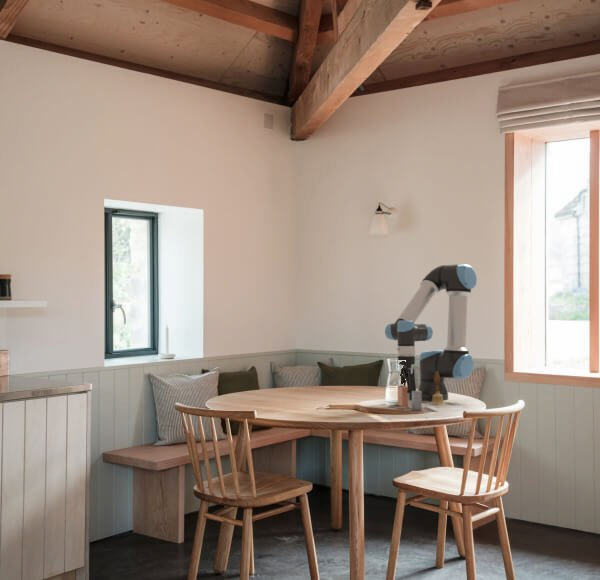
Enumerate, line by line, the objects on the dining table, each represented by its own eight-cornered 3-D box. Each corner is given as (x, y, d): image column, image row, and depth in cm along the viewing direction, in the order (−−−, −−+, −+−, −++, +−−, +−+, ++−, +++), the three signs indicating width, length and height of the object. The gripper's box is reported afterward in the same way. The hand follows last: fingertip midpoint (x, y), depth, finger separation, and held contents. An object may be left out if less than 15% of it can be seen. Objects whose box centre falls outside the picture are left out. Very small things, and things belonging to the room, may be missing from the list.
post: (419, 409, 335) (418, 390, 336) (421, 410, 332) (421, 391, 332) (411, 409, 335) (411, 390, 335) (414, 410, 332) (414, 391, 332)
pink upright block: (411, 407, 352) (410, 385, 352) (415, 409, 346) (415, 387, 346) (397, 408, 351) (397, 386, 351) (402, 409, 345) (402, 387, 345)
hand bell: (432, 408, 348) (432, 372, 348) (425, 406, 356) (425, 370, 356) (450, 408, 349) (449, 372, 349) (443, 405, 357) (442, 370, 358)
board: (426, 410, 342) (426, 407, 342) (438, 415, 328) (438, 411, 328) (395, 411, 339) (395, 408, 339) (406, 416, 325) (406, 412, 325)
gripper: (389, 354, 359) (390, 403, 358) (406, 357, 337) (407, 409, 337) (405, 353, 360) (406, 402, 360) (423, 356, 339) (424, 409, 338)
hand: (406, 406), depth 348 cm, fingers open, 10 cm apart
